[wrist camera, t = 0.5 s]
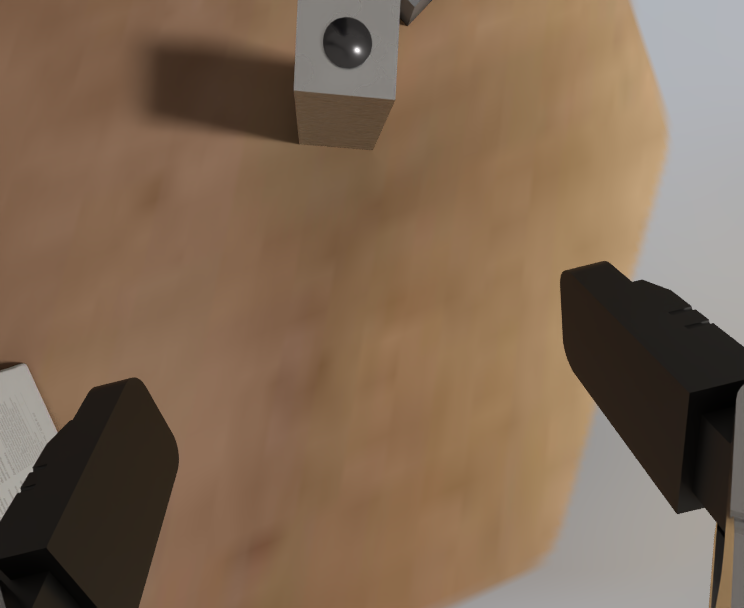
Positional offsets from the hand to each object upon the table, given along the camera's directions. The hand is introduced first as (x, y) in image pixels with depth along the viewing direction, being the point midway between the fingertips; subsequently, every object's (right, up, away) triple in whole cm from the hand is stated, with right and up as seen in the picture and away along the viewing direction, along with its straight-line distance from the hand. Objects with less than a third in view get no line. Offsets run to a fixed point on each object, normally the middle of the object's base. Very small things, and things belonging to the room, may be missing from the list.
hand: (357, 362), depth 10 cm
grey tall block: (-2, +14, +26) cm, 30 cm away
